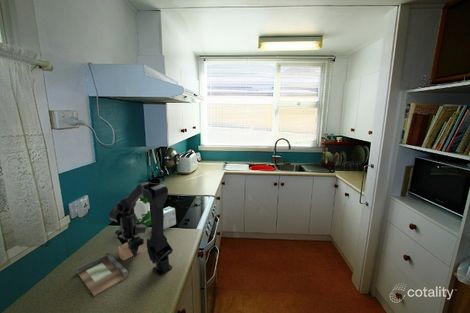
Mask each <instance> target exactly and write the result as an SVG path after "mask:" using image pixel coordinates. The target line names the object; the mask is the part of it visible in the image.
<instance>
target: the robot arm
mask: <svg viewBox="0 0 470 313" xmlns="http://www.w3.org/2000/svg"><path fill="white" fill-rule="evenodd" d="M168 194H169V188H168V186H166V185H165V184H163V183H154V182H153V183H152V182H149V181H145V182H142V183H138V184H137V185H136V187H135V188H134V189H133V190H132V191H131V192H130V193H129V194H128V196H126V197H125V198H123V199H121V200H118V202H116V203H115V207H112V208H111V210H110V212H109V214H108V218H109V220H111V221H114V222H115V223H120V226H119V229H117V230H116V231H115V232H114V237H115V238H116V239H117V241H118V242H119V243H120V244H121V245H123V244H125V243H127V242H128V246H129V247H128V248H129V249H130V251H131V253H132V255H133V257H134V258H135V257H137V255H138V254H137V251H138V248H139V246H140V245H141V246H143V245H144V244H145V239H144V238H142V237H141V236H138V235H139V234H145V233H146V230H147V227H146V226H145V225H143V224H140V222H135V216H136V215H135V213H134V211H132V210H134V207H135V206H136V202H137V201H138V200H139V199H140V198H141V197H142V196H143V197H145V198H147V201H148V202H149V205H150V208H151V209H150V217H151V223H152V224H151V236H149V237H148V238H147V239H146V249H147V250H146V251H147V254H148V258H149V259H150V261H151V263H152V264H155V265H154V267H152V271H154V272H155V273H156V274H157V275H158V276H162V275H164V274H165V273H167V272H168V271H170V270H171V269H173V266H172V265H171V264H170V257H169V256H170V255H171V254H172V253H173V252H174V251H173V250H174V249H173V248H172V246H171V244H169V242H168V237H167V236H166V235H165V234H164V230H165V229H164V206H165V204H166V201H167V200H168V196H169V195H168ZM135 236H136V237H135Z"/></svg>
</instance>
